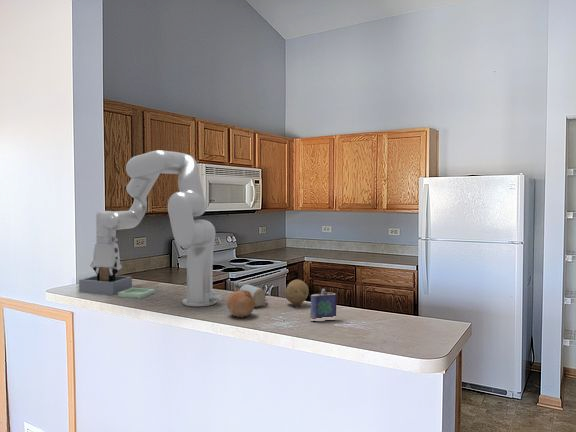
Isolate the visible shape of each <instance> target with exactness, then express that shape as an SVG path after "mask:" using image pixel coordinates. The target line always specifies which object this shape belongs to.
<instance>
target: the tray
mask: <svg viewBox="0 0 576 432" xmlns="http://www.w3.org/2000/svg"><path fill="white" fill-rule="evenodd" d="M154 294H155V289H154V288H146V287H145V288H142V287H141V288H140V287H132V288H130V289H127V290H124V291H121V292H118V293H117V297H118V298H122V299H123V298H125V299H136V300H142V299H145V298H147V297H149V296H152V295H154Z"/></svg>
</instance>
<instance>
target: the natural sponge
mask: <svg viewBox="0 0 576 432" xmlns="http://www.w3.org/2000/svg"><path fill="white" fill-rule="evenodd" d="M309 291H310V289H309V286H308V285H307V283H306V282H305V281H303V280H301V279H294V280H291V281H290V282H289V283H288V284H287V285H286V287H285V291H284V296H285V299H286V300H287V301H288V302H290V303H291V304H292V305H293V304H294V306H296V305H298V306H300V305H302V304H303V303H304V302H305V301H306V300H307V298H308V296H309V294H310V293H309ZM299 304H300V305H299Z"/></svg>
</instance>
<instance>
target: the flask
mask: <svg viewBox="0 0 576 432" xmlns="http://www.w3.org/2000/svg"><path fill="white" fill-rule="evenodd" d="M337 298H338V295H337V293H335V292H331V291H330V292H329V291H326V289H325V288H321V291H320V293H314V294H311V295H310V318H312V319H316V318H322V317H333V316H336V317H337V305H338V304H337V301H338V299H337ZM310 318H309V319H310Z"/></svg>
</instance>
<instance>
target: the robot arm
mask: <svg viewBox="0 0 576 432" xmlns="http://www.w3.org/2000/svg"><path fill="white" fill-rule="evenodd" d="M125 172H126V174H127V176H128V177H130V178H131V179H130V181H129V182H128V184H127V185H126V187H125V188H126V189H125V190H126V192H127V194H128V196H131V197H132V198H133V203H132V204H131V207H130V208H129V210H118V211H117V210H116V211H112V210H99V211H97V212H96V216H95V218H96V220H95V222H96V223H95V226H96V228H95V230H96V237H95V240H96V241H95V242H96V243H95V244H94V249H93V260H92V262H91V263H90V264H89V265H90V267H91V269H92V270H93V271H94V272H95V275H97V281H100V267H107V268H109V271H110V275H109V282H114V281H115V276H116V275H118V274H117V273H118V272H119V271H120V270H121V269H123V265H122V263H121V262H120V261H121V259H120V249H119V245H118V243H116V242H118V240H119V238H117V236H116V235H117V234H116V232H117V231H119V230H125V229H126V230H129V229H134V228H136V227H137V226H138V225H139V224H140V223H141V221H142V220H143V218H144V216H145V214H146V212H147V205H148V201H147V197H148V195H149V193H150V191H151V189H152V188H153V187H154V185H155V183H156V182H157V180H158V178H159V176H160V174H167V175H169V174H170V175H171V174H172V175H178V177H177V186H178V190H179V191H176V192H174V193H172V194H171V196H170V197H169V199H168V201H167V214H168V217H169V221H170V227H171V230H172V231H171V232H172V235H173V239H174V241H175V242H176V244H177V245H178V246H180V247H182V248H188V251H187V256H186V257H187V258H186V297H185V298H183V299H182V304H183V305H184V306H187V307H197V308H198V307H210V306H212V305H215V304H216V303H217V301H220V302H221V301H222V300H223V297H222V294H218V293H217V294H216V290H215V289H213V275H214V273H213V270H214V269H213V268H214V267H213V266H214V265H213V262H214V261H213V260H214V246H215V240H216V228H215V226H214V225H213V223H211V221H209V220H206V219H194V217H200V216H202V215H203V214H205V212H206V210H207V203H206V198H205V194H204V190H203V189H204V188H203V186H202V182H201V175H200V169H199V165H198V162H197V161H196V159H195V158H194V157H193V156H192V155H190V154H187V153H184V152H178V151H172V150H171V151H170V150H161V149H158V150H152V151H148V152H146V153H142V154H138V155H135V156H132V157H131V158H130V159H129V160H128V161H127V163H126V166H125Z"/></svg>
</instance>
